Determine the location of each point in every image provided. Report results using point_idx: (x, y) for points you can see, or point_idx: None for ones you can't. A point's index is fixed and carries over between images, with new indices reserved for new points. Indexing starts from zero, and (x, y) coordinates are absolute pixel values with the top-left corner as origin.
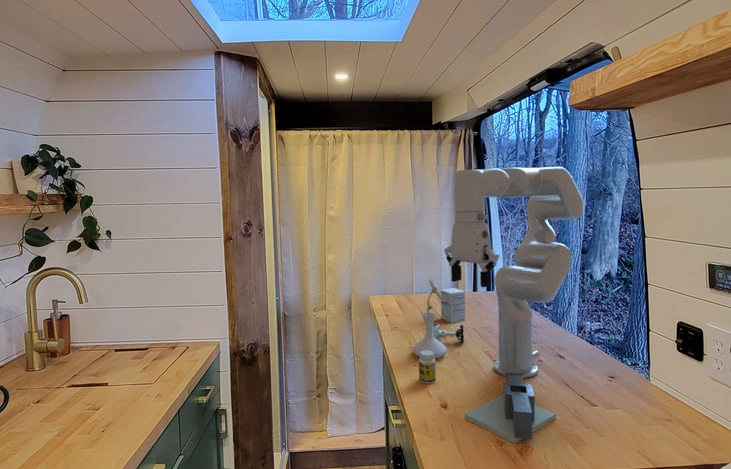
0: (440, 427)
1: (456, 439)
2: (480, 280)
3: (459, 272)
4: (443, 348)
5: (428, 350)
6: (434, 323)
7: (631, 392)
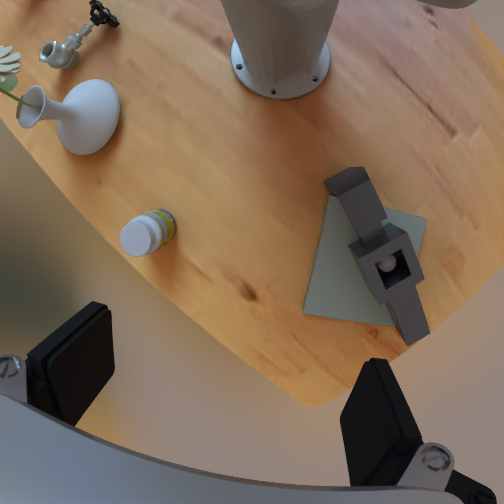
0: (284, 351)
1: (319, 361)
2: (345, 447)
3: (81, 353)
4: (109, 102)
5: (128, 224)
6: (43, 46)
7: (471, 58)
